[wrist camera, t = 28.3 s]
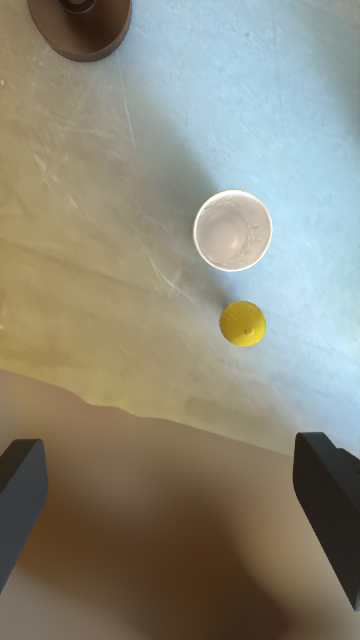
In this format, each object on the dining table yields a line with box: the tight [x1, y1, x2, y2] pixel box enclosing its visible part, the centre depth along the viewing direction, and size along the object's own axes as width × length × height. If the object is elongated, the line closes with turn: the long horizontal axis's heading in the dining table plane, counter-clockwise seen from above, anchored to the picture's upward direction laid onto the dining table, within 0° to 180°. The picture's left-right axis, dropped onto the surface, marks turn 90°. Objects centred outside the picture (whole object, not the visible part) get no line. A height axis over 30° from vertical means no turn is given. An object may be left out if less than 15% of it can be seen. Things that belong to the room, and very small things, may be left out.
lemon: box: [220, 301, 266, 346], centre depth 40 cm, size 6×6×8 cm
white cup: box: [192, 189, 272, 271], centre depth 37 cm, size 8×8×10 cm
